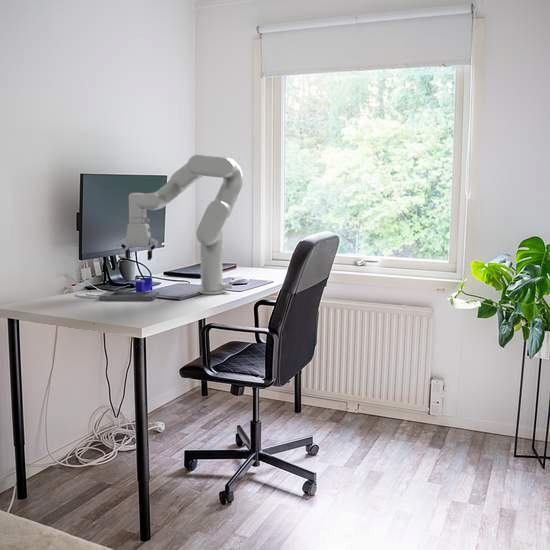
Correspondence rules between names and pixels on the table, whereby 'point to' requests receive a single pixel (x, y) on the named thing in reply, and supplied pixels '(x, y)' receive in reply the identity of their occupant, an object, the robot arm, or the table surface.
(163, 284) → the table surface
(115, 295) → the dark grey flat slab
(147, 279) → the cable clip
